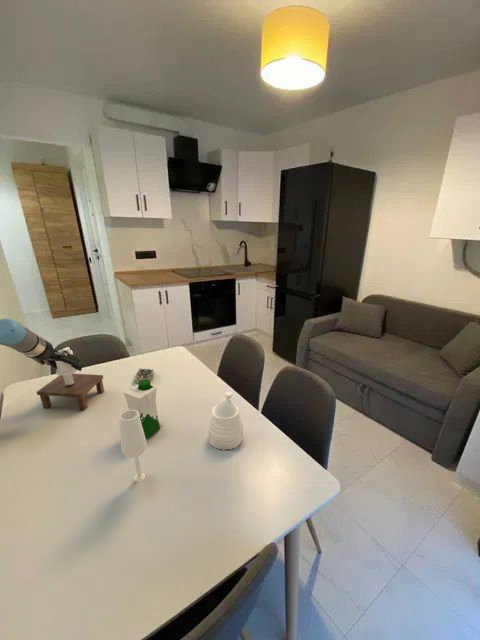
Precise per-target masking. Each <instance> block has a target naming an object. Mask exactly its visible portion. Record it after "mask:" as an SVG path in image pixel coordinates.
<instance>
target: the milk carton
mask: <svg viewBox="0 0 480 640" xmlns="http://www.w3.org/2000/svg"><path fill="white" fill-rule="evenodd" d="M123 395H124V397H125V401H126V403H127V407H128V410H136V411H138V413H139V417H140V420H141V424H142V427H143V431H144V434H145V438H146V440H148V439H149V438H150V437H151V436H153V435H154V434H155V433H157V432H158V431H159V430H161V426H160V425H161V424H160V421H159V415H158V407H157V387H156V386H153V385H152V384H151V383H150V380H141V381H139V382H138V384H135V385H134V386H132V387H129V389H127V390H126V391H124V392H123Z"/></svg>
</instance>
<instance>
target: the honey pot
mask: <svg viewBox="0 0 480 640" xmlns="http://www.w3.org/2000/svg"><path fill="white" fill-rule="evenodd" d="M224 396H225V398H222V399H221V400H219V402H218V403H217V404H216V405H214V406H213V407H212V409H211V410H210V413H211V417H210V420H209V422H208V425H207V441H208V440H209V441H208V444H209V445H210V444H211V445H212V446H213V448H214V447H215V448H214V449H216V448H218V449H217V450H219V449H222V450H221V451H227V450H226V449H230V450H233V449H232V448H234V449H235V447H236V448H237V446H238V445H239V444H240V443H241V442H242V443H243V441H242V440H244V423H243V421H242V418H241V416H240V412H241V411H240V408H239V406H237V405H236V404H234V402H233V401H232V400H230V399H231V398H232V397H233V392H232V391H226V392H225V393H224ZM242 443H241V444H242ZM241 444H240V445H241ZM211 445H210V446H211ZM240 445H239V446H240ZM212 446H211V447H212ZM239 446H238V447H239Z"/></svg>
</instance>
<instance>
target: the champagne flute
mask: <svg viewBox="0 0 480 640" xmlns="http://www.w3.org/2000/svg"><path fill="white" fill-rule="evenodd" d="M118 418H119V434H120V448H121V453H122V454H123V455H124V456H125V457H127V458H132V459H134V464H135V471H136V475H134V477H133V480H134V481H135V482H142V481H143V480H144V479H146V474H145V473H143V472H142V470H141V463H140V458H139V457H140V456H142V455H143V454H144V452H145V451H146V450H147V447H148V441H147V439H146V438H145V434H144V431H143V427H142V424H141V420H140V417H139V413H138V411H136V410H129V409H127V410H125V411H123V412H121V413H120V414H119V417H118Z"/></svg>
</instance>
